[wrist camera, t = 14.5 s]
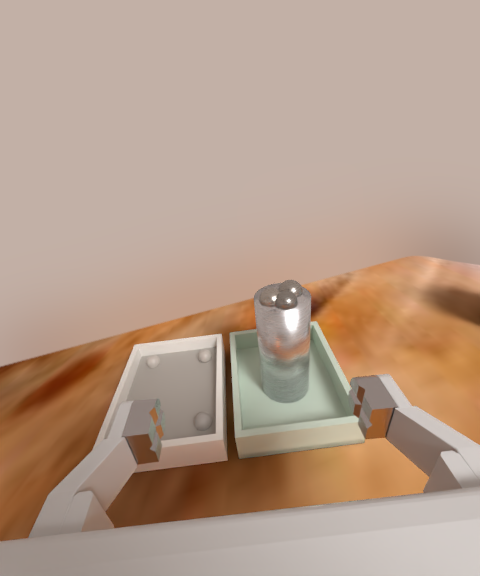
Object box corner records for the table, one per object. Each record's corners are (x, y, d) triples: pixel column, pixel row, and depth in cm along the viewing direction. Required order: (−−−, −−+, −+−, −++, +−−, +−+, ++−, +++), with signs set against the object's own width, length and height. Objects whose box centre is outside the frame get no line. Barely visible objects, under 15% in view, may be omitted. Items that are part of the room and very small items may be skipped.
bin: (239, 459, 25) (234, 437, 23) (232, 350, 37) (229, 332, 35) (364, 442, 25) (367, 420, 23) (315, 339, 37) (316, 321, 35)
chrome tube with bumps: (265, 406, 28) (256, 304, 22) (259, 369, 33) (250, 276, 27) (315, 400, 28) (318, 296, 22) (302, 364, 33) (302, 270, 27)
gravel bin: (102, 476, 25) (89, 456, 23) (141, 362, 37) (134, 344, 35) (227, 460, 25) (222, 439, 23) (224, 351, 37) (221, 333, 35)
